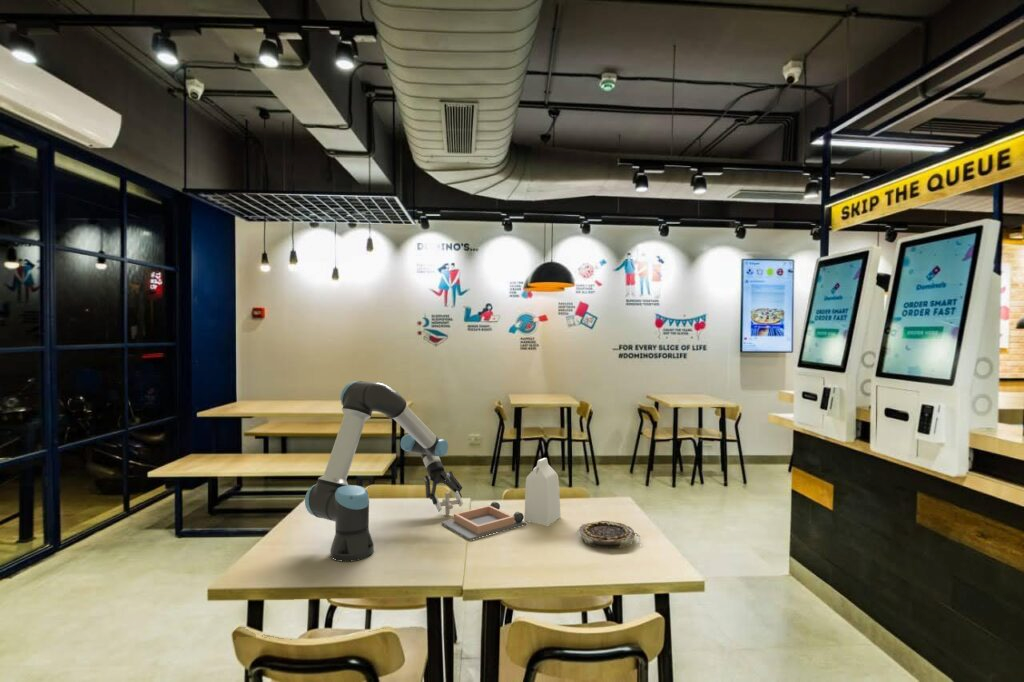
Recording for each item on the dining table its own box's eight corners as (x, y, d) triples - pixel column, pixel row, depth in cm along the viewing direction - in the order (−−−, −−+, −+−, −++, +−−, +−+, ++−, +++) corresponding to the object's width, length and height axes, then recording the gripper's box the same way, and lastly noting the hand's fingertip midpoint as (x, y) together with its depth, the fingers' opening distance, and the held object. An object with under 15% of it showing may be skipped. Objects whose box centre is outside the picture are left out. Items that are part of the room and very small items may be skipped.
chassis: (469, 541, 195) (469, 528, 195) (441, 524, 213) (441, 512, 213) (526, 524, 212) (526, 512, 212) (495, 510, 230) (495, 499, 230)
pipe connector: (433, 513, 227) (433, 490, 227) (454, 509, 231) (454, 488, 231) (439, 520, 218) (439, 497, 218) (461, 516, 222) (461, 494, 222)
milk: (548, 526, 211) (547, 463, 211) (524, 520, 217) (524, 460, 217) (560, 517, 221) (560, 458, 221) (537, 512, 227) (537, 455, 227)
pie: (643, 558, 180) (643, 544, 180) (567, 553, 186) (567, 539, 186) (640, 529, 207) (640, 517, 207) (573, 526, 213) (573, 514, 213)
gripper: (451, 465, 244) (469, 506, 231) (408, 473, 230) (424, 517, 217) (457, 456, 240) (475, 498, 227) (413, 464, 226) (430, 508, 213)
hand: (450, 507), depth 222 cm, fingers closed on pipe connector, 10 cm apart
